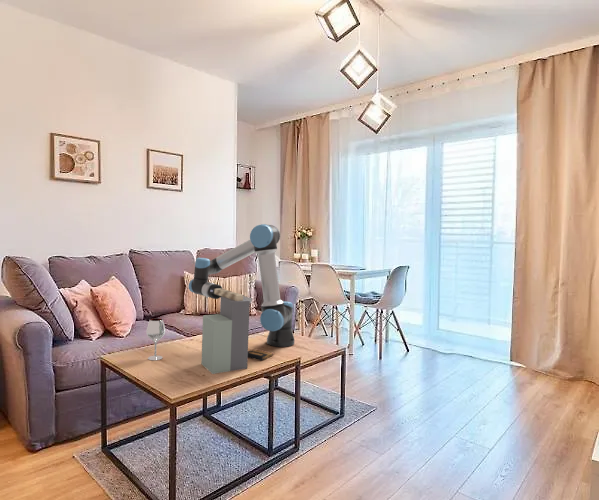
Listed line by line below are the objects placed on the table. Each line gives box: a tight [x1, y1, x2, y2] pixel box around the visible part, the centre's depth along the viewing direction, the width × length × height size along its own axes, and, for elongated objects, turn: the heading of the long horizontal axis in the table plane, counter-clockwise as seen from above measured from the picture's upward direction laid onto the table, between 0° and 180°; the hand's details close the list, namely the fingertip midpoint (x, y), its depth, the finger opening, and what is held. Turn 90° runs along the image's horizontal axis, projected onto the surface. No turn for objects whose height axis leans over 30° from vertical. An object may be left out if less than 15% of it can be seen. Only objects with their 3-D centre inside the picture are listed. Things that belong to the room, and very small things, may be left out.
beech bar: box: [214, 288, 244, 301], centre depth 184 cm, size 22×3×2 cm, turn 38°
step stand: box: [200, 297, 251, 375], centre depth 178 cm, size 14×16×30 cm
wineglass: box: [146, 317, 166, 361], centre depth 185 cm, size 8×8×18 cm
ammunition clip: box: [248, 348, 275, 361], centre depth 196 cm, size 11×2×12 cm
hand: (242, 298), depth 198 cm, fingers open, 13 cm apart
